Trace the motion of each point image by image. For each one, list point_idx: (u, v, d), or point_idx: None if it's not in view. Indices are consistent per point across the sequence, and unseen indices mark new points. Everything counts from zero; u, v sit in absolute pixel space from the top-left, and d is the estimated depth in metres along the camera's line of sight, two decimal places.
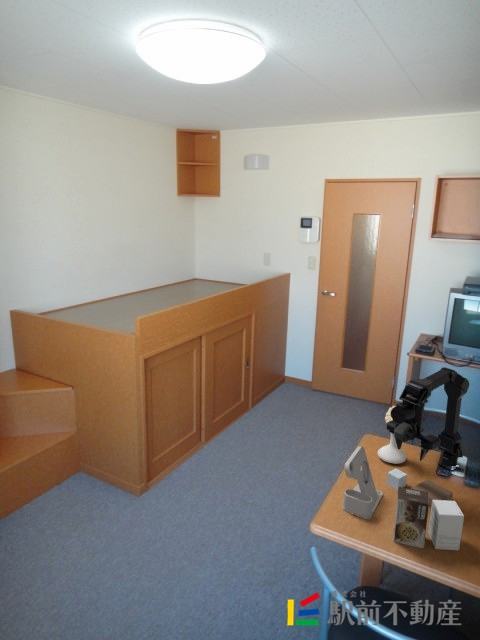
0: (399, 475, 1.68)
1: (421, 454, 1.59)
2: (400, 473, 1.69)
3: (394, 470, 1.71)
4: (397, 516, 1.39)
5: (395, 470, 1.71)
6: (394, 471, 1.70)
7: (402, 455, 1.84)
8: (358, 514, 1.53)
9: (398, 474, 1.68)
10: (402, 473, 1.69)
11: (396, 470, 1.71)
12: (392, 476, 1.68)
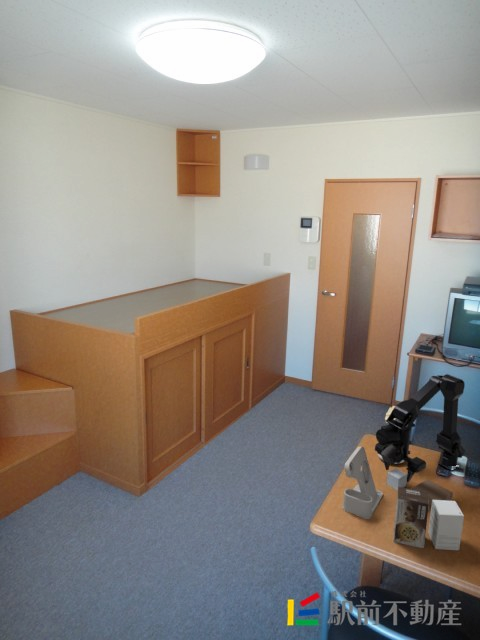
0: (399, 475, 1.68)
1: (408, 476, 1.64)
2: (400, 473, 1.69)
3: (394, 470, 1.71)
4: (397, 516, 1.39)
5: (395, 470, 1.71)
6: (394, 471, 1.70)
7: None
8: (358, 514, 1.53)
9: (398, 474, 1.68)
10: (402, 473, 1.69)
11: (396, 470, 1.71)
12: (392, 476, 1.68)
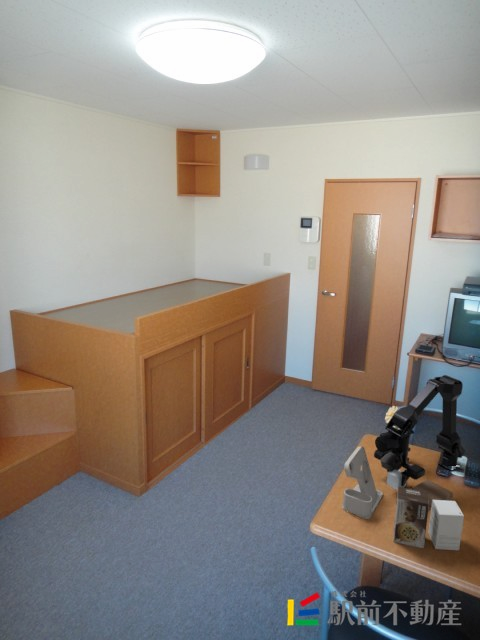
0: (399, 475, 1.68)
1: (402, 480, 1.66)
2: (400, 473, 1.69)
3: (394, 470, 1.71)
4: (397, 516, 1.39)
5: (395, 470, 1.71)
6: (394, 471, 1.70)
7: None
8: (358, 514, 1.53)
9: (398, 474, 1.68)
10: None
11: (396, 470, 1.71)
12: (392, 476, 1.68)
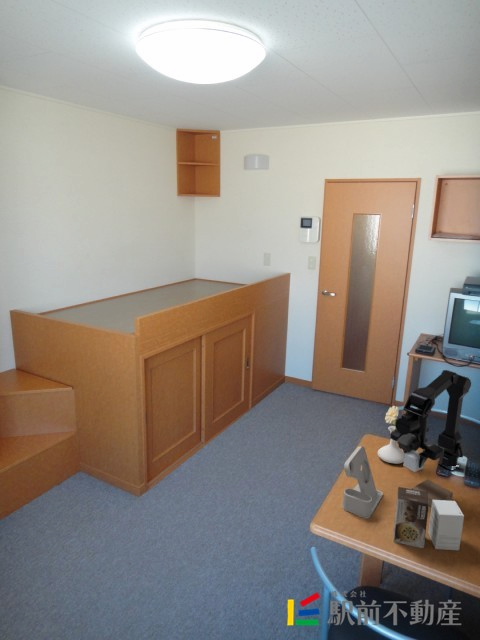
0: (416, 456, 1.63)
1: (420, 461, 1.61)
2: (418, 454, 1.64)
3: (411, 451, 1.66)
4: (397, 516, 1.39)
5: (412, 451, 1.66)
6: (411, 452, 1.65)
7: (402, 455, 1.84)
8: (357, 513, 1.53)
9: (416, 455, 1.63)
10: None
11: (413, 451, 1.66)
12: (409, 458, 1.63)
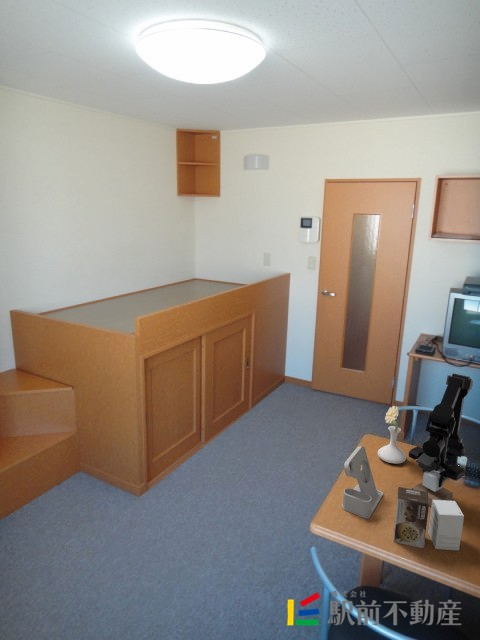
0: (436, 475, 1.60)
1: (440, 481, 1.58)
2: (437, 473, 1.61)
3: None
4: (397, 516, 1.39)
5: None
6: None
7: (402, 455, 1.84)
8: (357, 513, 1.53)
9: (435, 475, 1.60)
10: None
11: None
12: (428, 477, 1.60)
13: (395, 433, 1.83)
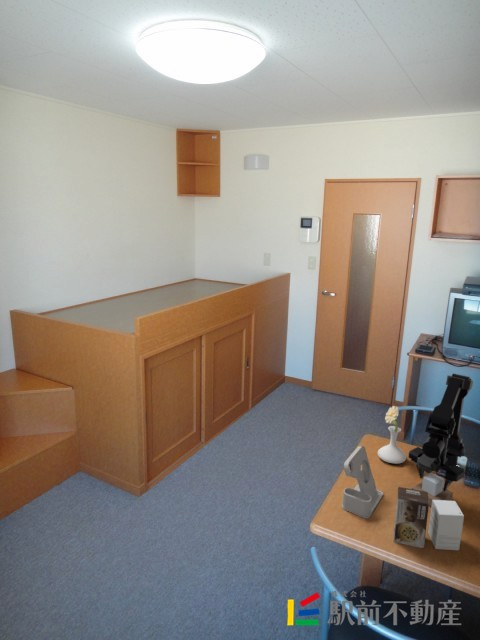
0: (435, 480, 1.60)
1: (445, 485, 1.57)
2: (436, 478, 1.61)
3: (430, 475, 1.63)
4: (397, 516, 1.39)
5: (431, 475, 1.63)
6: (430, 476, 1.62)
7: (402, 455, 1.84)
8: (357, 513, 1.53)
9: (435, 479, 1.60)
10: (438, 478, 1.61)
11: (432, 475, 1.63)
12: (428, 481, 1.60)
13: (395, 433, 1.83)
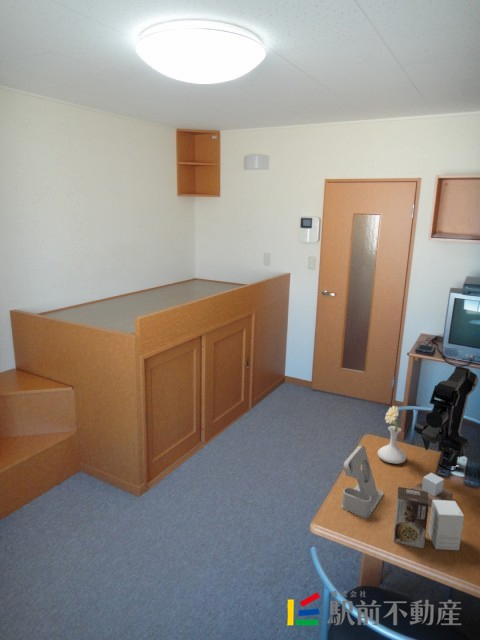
0: (435, 480, 1.60)
1: (450, 455, 1.62)
2: (436, 478, 1.61)
3: (430, 475, 1.63)
4: (397, 516, 1.39)
5: (431, 475, 1.63)
6: (430, 476, 1.62)
7: (402, 455, 1.84)
8: (357, 513, 1.54)
9: (435, 479, 1.60)
10: (438, 478, 1.61)
11: (432, 475, 1.63)
12: (428, 481, 1.60)
13: (395, 433, 1.83)
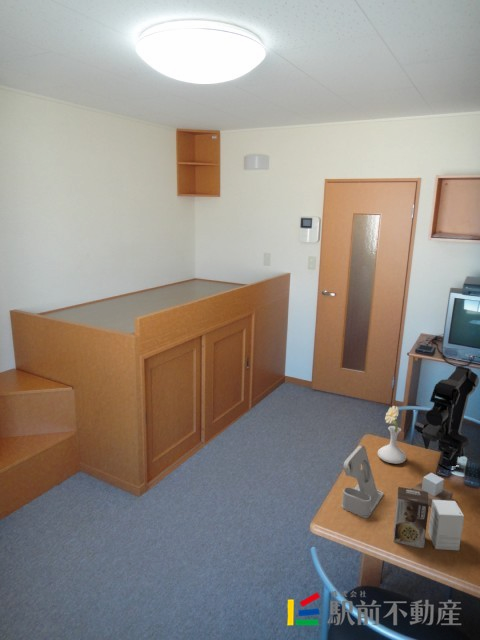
0: (435, 480, 1.60)
1: (450, 453, 1.62)
2: (436, 478, 1.61)
3: (430, 475, 1.63)
4: (397, 516, 1.39)
5: (431, 475, 1.63)
6: (430, 476, 1.62)
7: (402, 455, 1.84)
8: (356, 513, 1.54)
9: (435, 479, 1.60)
10: (438, 478, 1.61)
11: (432, 475, 1.63)
12: (428, 481, 1.60)
13: (395, 433, 1.83)
